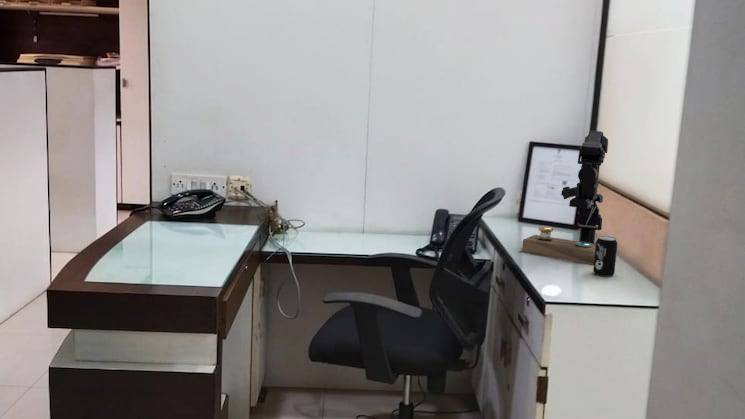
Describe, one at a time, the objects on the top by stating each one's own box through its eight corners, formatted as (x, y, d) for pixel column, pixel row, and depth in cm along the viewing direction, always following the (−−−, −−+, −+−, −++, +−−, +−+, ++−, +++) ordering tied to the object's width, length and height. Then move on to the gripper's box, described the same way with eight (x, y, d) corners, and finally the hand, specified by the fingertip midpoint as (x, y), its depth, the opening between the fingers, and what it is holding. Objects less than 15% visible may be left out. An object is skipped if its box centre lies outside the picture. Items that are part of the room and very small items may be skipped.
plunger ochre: (540, 239, 269) (541, 225, 268) (553, 241, 266) (555, 227, 265) (535, 241, 265) (536, 227, 264) (549, 243, 262) (550, 229, 261)
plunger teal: (577, 255, 262) (579, 240, 261) (591, 257, 260) (593, 243, 259) (573, 257, 258) (574, 243, 257) (587, 260, 255) (588, 245, 254)
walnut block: (534, 246, 274) (535, 234, 274) (604, 258, 261) (605, 245, 260) (521, 252, 264) (522, 239, 264) (594, 264, 251) (595, 251, 250)
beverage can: (615, 277, 235) (619, 240, 233) (593, 275, 237) (597, 239, 235) (613, 272, 242) (616, 236, 240) (592, 270, 243) (595, 234, 241)
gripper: (574, 175, 266) (570, 218, 269) (556, 180, 251) (552, 225, 253) (605, 178, 260) (600, 222, 263) (589, 184, 245) (584, 230, 248)
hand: (584, 224), depth 257 cm, fingers closed
